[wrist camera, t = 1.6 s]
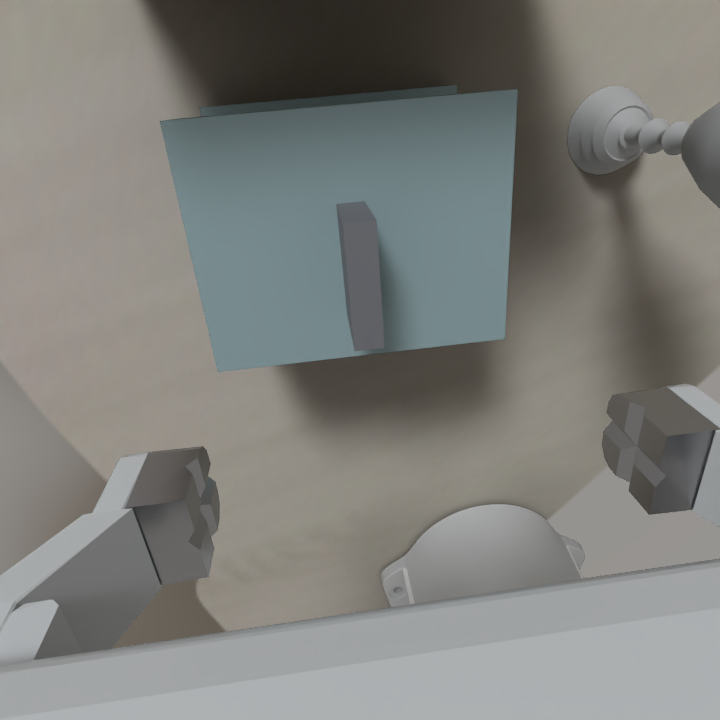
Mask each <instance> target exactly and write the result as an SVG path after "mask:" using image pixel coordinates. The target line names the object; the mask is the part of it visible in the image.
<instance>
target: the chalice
mask: <svg viewBox="0 0 720 720" xmlns="http://www.w3.org/2000/svg"><path fill="white" fill-rule="evenodd" d="M567 143H568V149H569V154H570V156H571V158H572V159H573V161H574V163H575V164H576V165H577V166H578V167H579V168H580V169H582V170H583V171H584V172H587V173H591V174H594V175H600V174H608V173H611V172H613V171H616V170H618V169H620V168H621V167H623V166H625V165H627V164H628V163H631V162H633V161H634V160H635V159H637V158H638V157H639V156H640V155H641V154H642V153H643V152H645V153H649V154H652V153H657V152H659V151H661V150H662V149H663V150H664V151H665V152H666V153H667V154H669V155H678V154H680V153H681V154H682V159H683V161H684V163H685V165H686V166H687V168H688V170H689V172H690V173H691V175H692V177H693V178H694V180H695V182H696V184H697V185H698V187H699V189H700V190H701V191H702V192H703V193H704V194H705V195H706V196H707V197H708V198H709V199H710V200H711V201H712V202H713V203H714V204H715V205H717V206H718V207H719V208H720V102H719V103H718V104H716V105H715V106H714V107H712V108H711V109H709V110H708V111H707V112H705V113H704V114H702V115H701V116H700V117H698V118H697V119H696V120H694V122H693V123H692V124H691V125H690V124H689V123H687V122H684V121H680V122H676V123H674V124H672V125H671V126H670V125H669V123H668V122H667V121H666V120H664V119H654V120H653V115H652V113H651V111H650V109H649V107H648V106H647V105H646V104H645V102H644V101H642V99H641V97H639V96H638V95H637V94H636V93H635V92H634V91H633V90H631V89H628V88H625V87H622V86H611V87H605V88H603V89H601V90H599V91H596V92H594V93H593V94H592V95H590V96H589V97H588V98H587V99H586V100H584V101H583V102H582V104H581V105H580V106H579V108H578V109H577V111H576V112H575V114H574V115H573V118H572V121H571V123H570V126H569V130H568V139H567Z"/></svg>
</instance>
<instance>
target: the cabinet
mask: <svg viewBox="0 0 720 720" xmlns="http://www.w3.org/2000/svg"><path fill="white" fill-rule="evenodd" d="M517 96H518V89H511V90H495V91H483V92H472V93H460V94H457V85H449V86H438V87H427V88H416V89H404V90H393V91H382V92H370V93H359V94H348V95H337V96H325V97H314V98H303V99H291V100H280V101H269V102H258V103H246V104H235V105H224V106H212V107H201V108H200V112H201V117H192V118H181V119H173V120H165V121H160V124H161V128H162V133H163V137H164V141H165V146H166V150H167V154H168V159H169V163H170V167H171V172H172V176H173V180H174V185H175V189H176V193H177V198H178V202H179V206H180V211H181V215H182V219H183V224H184V228H185V232H186V237H187V241H188V245H189V249H190V254H191V258H192V262H193V267H194V271H195V275H196V280H197V284H198V288H199V293H200V297H201V301H202V306H203V310H204V314H205V319H206V323H207V327H208V332H209V336H210V340H211V345H212V349H213V353H214V358H215V362H216V366H217V370H218V372H222V371H231V370H240V369H248V368H257V367H266V366H274V365H283V364H292V363H300V362H309V361H318V360H326V359H335V358H344V357H352V356H361V355H370V354H378V353H387V352H396V351H404V350H413V349H422V348H431V347H439V346H448V345H457V344H465V343H474V342H483V341H491V340H500V339H505V326H506V307H507V288H508V268H509V249H510V230H511V211H512V192H513V172H514V153H515V134H516V115H517Z"/></svg>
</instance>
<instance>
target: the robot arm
mask: <svg viewBox="0 0 720 720" xmlns="http://www.w3.org/2000/svg"><path fill="white" fill-rule="evenodd" d="M607 414H608V415H609V417H610V418H611V420H612V422H611V423H610V424H609V425H608V426H607V428H606V429H605V430H604V431H603V439H602V448H603V453H604V458H605V460H606V462H607V464H608V466H609V468H610V469H611V470H612V471H613V473H614V474H615V475H616V476H618V477H620V478H622V479H624V480H626V481H629V482H630V485H629V492H630V493H631V494H632V495H633V496H634V498H635V499H636V500H637V501H638V502H639V503H640V505H641V506H642V507H643V508H644V509H645V510H646V512H647V513H648V514H659V513H668V512H676V511H685V510H693V512H694V513H696V514H697V515H699V516H701V517H703V518H704V519H706V520H708V521H710V522H711V523H713V524H715V525H717V526H718V527H720V404H718V403H717V402H716V401H714V400H713V399H711V398H710V397H709V396H707V395H706V394H704V393H703V392H702V391H700V390H699V389H698V388H696V387H695V386H693V385H689V384H680V385H673V386H667V387H661V388H657V389H650V390H643V391H636V392H629V393H622V394H615V395H612V397H611V399H610V400H609V402H608V407H607ZM210 465H211V463H210V460H209V457H208V453H207V450H206V449H205V448H204V447H203V446H201V447H192V448H182V449H173V450H163V451H154V452H145V453H137V454H130V455H125V456H123V457H121V458H120V459H119V461H118V463H117V465H116V467H115V469H114V471H113V473H112V475H111V477H110V479H109V481H108V483H107V485H106V487H105V489H104V491H103V493H102V495H101V497H100V499H99V501H98V503H97V505H96V507H95V509H94V511H93V513H92V514H85V515H82V516H81V517H80V518H78V519H77V520H76V521H74V522H73V523H72V524H70V525H69V526H68V527H66V528H65V529H63V530H62V531H61V532H59V533H58V534H57V535H55V536H54V537H52V538H51V539H50V540H48V541H47V542H46V543H44V544H43V545H42V546H40V547H39V548H38V549H36V550H35V551H34V552H32V553H31V554H29V555H28V556H27V557H25V558H24V559H22V560H21V561H20V562H18V563H17V564H16V565H14V566H13V567H12V568H10V569H9V570H7V571H6V572H5V573H3V574H2V575H1V576H0V720H720V559H714V560H707V561H700V562H693V563H686V564H680V565H673V566H666V567H660V568H652V569H646V570H639V571H632V572H625V573H619V574H612V575H605V576H598V577H591V578H583V576H582V574H581V572H580V568H581V566H582V563H583V561H584V558H585V554H584V552H583V549H582V547H581V545H580V544H579V543H578V542H576V541H575V540H572V539H570V538H567V537H565V536H562V535H560V534H558V533H557V532H556V531H555V530H554V529H553V528H552V526H551V525H550V524H549V523H548V522H547V521H546V520H545V519H544V518H543V517H541V516H540V515H539V514H537V513H535V512H533V511H531V510H529V509H526V508H523V507H519V506H514V505H505V504H491V505H482V506H477V507H472V508H469V509H465V510H462V511H459V512H457V513H454V514H452V515H450V516H448V517H446V518H444V519H442V520H441V521H439V522H438V523H436V524H435V525H433V526H432V527H431V528H429V529H428V530H427V531H426V532H425V533H424V534H423V535H422V536H421V537H420V538H419V539H418V540H417V542H416V543H415V544H414V545H413V547H412V548H411V549H410V550H409V552H408V553H407V554H406V555H405V556H403V557H402V558H400V559H398V560H397V561H395V562H394V563H392V564H391V565H389V566H388V567H386V568H385V569H384V570H383V571H382V573H381V581H382V585H383V588H384V591H385V593H386V596H387V598H388V601H389V604H390V606H391V607H390V608H383V609H376V610H369V611H363V612H356V613H349V614H342V615H336V616H329V617H322V618H315V619H309V620H302V621H295V622H288V623H282V624H275V625H268V626H261V627H255V628H248V629H241V630H234V631H228V632H221V633H214V634H207V635H201V636H194V637H187V638H180V639H174V640H167V641H160V642H153V643H147V644H140V645H133V646H126V647H120V648H113V649H111V648H112V647H113V646H114V645H115V644H116V642H117V641H118V640H119V639H120V637H121V636H122V635H123V634H124V633H125V631H126V630H127V629H128V628H129V626H130V625H131V624H132V623H133V621H134V620H135V619H136V618H137V617H138V616H139V614H140V613H141V612H142V610H143V609H144V608H145V607H146V606H147V605H148V603H149V602H150V601H151V600H152V598H153V597H154V596H155V595H156V594H157V592H158V591H159V590H160V589H161V585H164V584H170V583H176V582H182V581H188V580H194V579H200V578H205V577H209V572H210V567H211V562H212V557H213V552H214V546H213V542H212V539H211V536H212V535H213V534H214V533H215V532H216V531H217V530H218V525H219V519H220V503H219V495H218V490H217V486H216V482H215V481H214V480H212V479H211V478H210V477H208V473H209V469H210Z"/></svg>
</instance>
